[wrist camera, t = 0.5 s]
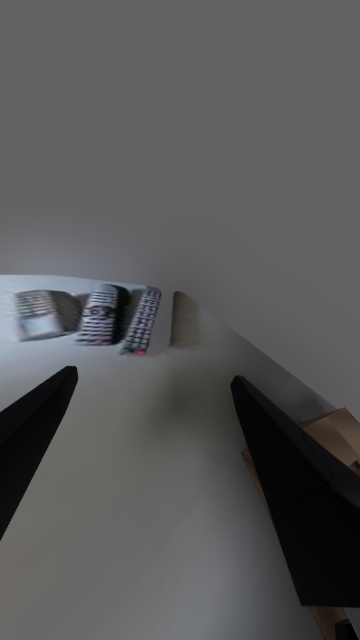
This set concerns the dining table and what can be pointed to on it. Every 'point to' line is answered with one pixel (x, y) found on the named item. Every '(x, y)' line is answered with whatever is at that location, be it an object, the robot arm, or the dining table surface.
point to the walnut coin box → (349, 447)
